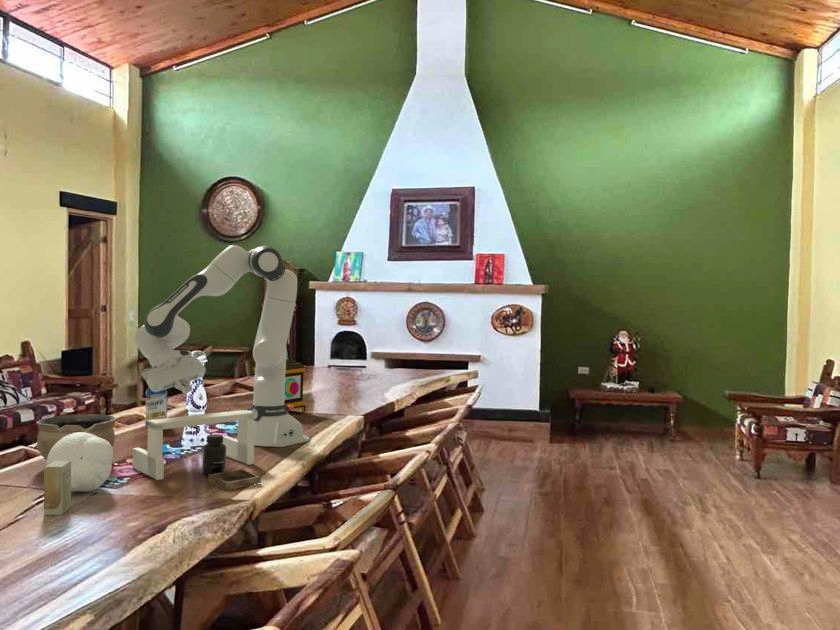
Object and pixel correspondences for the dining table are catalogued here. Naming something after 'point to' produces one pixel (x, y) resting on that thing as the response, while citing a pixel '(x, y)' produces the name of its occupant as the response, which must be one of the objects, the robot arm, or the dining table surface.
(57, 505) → the skincare box
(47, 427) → the ceramic bowl
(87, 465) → the decorative orb
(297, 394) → the decorative lantern
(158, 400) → the beverage bottle
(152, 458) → the arch lane
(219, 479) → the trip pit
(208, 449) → the supplement bottle
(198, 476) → the dining table surface
